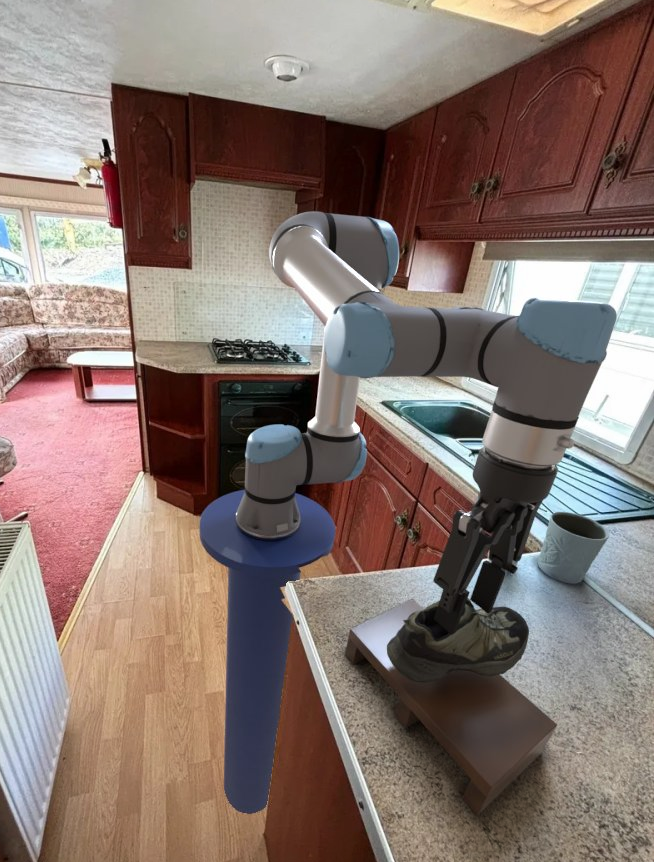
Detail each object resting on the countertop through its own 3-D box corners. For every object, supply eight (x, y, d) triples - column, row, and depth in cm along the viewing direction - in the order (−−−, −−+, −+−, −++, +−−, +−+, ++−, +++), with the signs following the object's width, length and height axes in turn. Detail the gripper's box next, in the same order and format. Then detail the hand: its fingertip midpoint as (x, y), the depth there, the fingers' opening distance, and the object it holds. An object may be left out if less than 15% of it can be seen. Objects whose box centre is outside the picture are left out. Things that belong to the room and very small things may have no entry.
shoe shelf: (344, 655, 65) (349, 628, 63) (405, 623, 72) (412, 598, 69) (476, 816, 47) (491, 787, 44) (541, 753, 53) (557, 724, 51)
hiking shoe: (542, 662, 56) (565, 613, 52) (412, 704, 50) (427, 651, 46) (495, 616, 64) (513, 570, 60) (377, 647, 57) (387, 597, 53)
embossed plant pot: (596, 579, 86) (619, 533, 82) (568, 592, 82) (591, 544, 77) (550, 551, 95) (569, 507, 90) (522, 561, 90) (540, 516, 85)
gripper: (497, 489, 35) (436, 670, 45) (601, 453, 45) (533, 608, 54) (428, 455, 41) (387, 622, 50) (534, 430, 50) (483, 574, 60)
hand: (463, 615), depth 52 cm, fingers closed on hiking shoe, 7 cm apart
